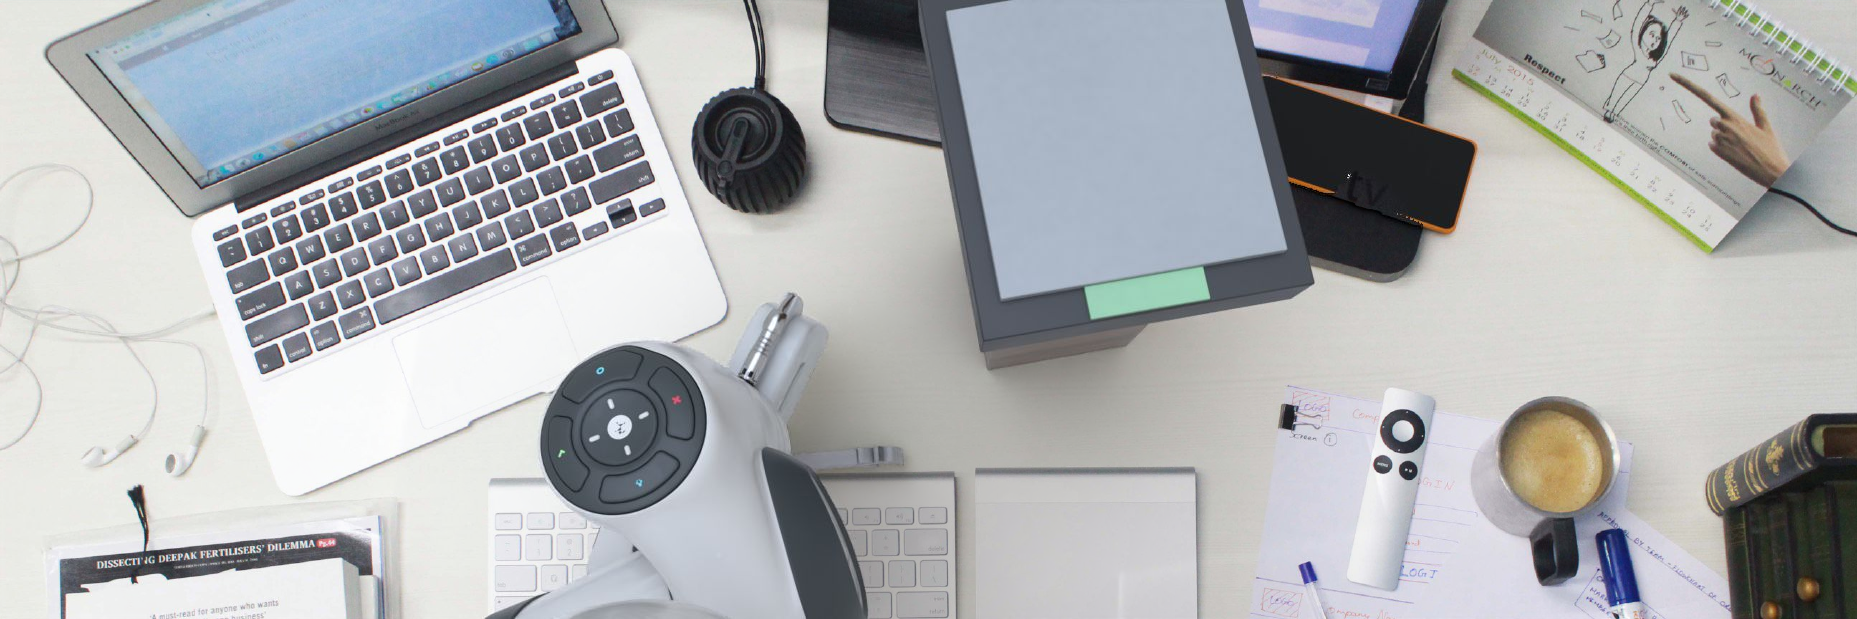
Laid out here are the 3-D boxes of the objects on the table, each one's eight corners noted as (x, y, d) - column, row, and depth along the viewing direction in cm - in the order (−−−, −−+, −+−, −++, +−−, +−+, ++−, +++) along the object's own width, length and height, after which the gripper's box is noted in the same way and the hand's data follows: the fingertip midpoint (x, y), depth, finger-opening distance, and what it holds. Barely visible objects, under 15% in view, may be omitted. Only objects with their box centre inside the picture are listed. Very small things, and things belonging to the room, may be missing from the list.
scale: (1292, 299, 46) (1321, 280, 43) (980, 353, 46) (983, 339, 43) (1211, -28, 50) (1231, -70, 46) (918, 21, 49) (916, -17, 46)
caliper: (903, 449, 73) (899, 442, 67) (904, 465, 73) (900, 459, 67) (610, 472, 73) (580, 466, 67) (611, 487, 73) (580, 483, 67)
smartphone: (1255, 73, 78) (1258, 69, 77) (1475, 146, 77) (1480, 141, 76) (1225, 164, 77) (1228, 160, 76) (1449, 239, 75) (1454, 236, 75)
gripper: (741, 263, 60) (778, 311, 73) (568, 601, 56) (641, 586, 70) (841, 308, 59) (860, 348, 73) (673, 653, 56) (726, 627, 69)
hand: (752, 467), depth 71 cm, fingers closed on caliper
